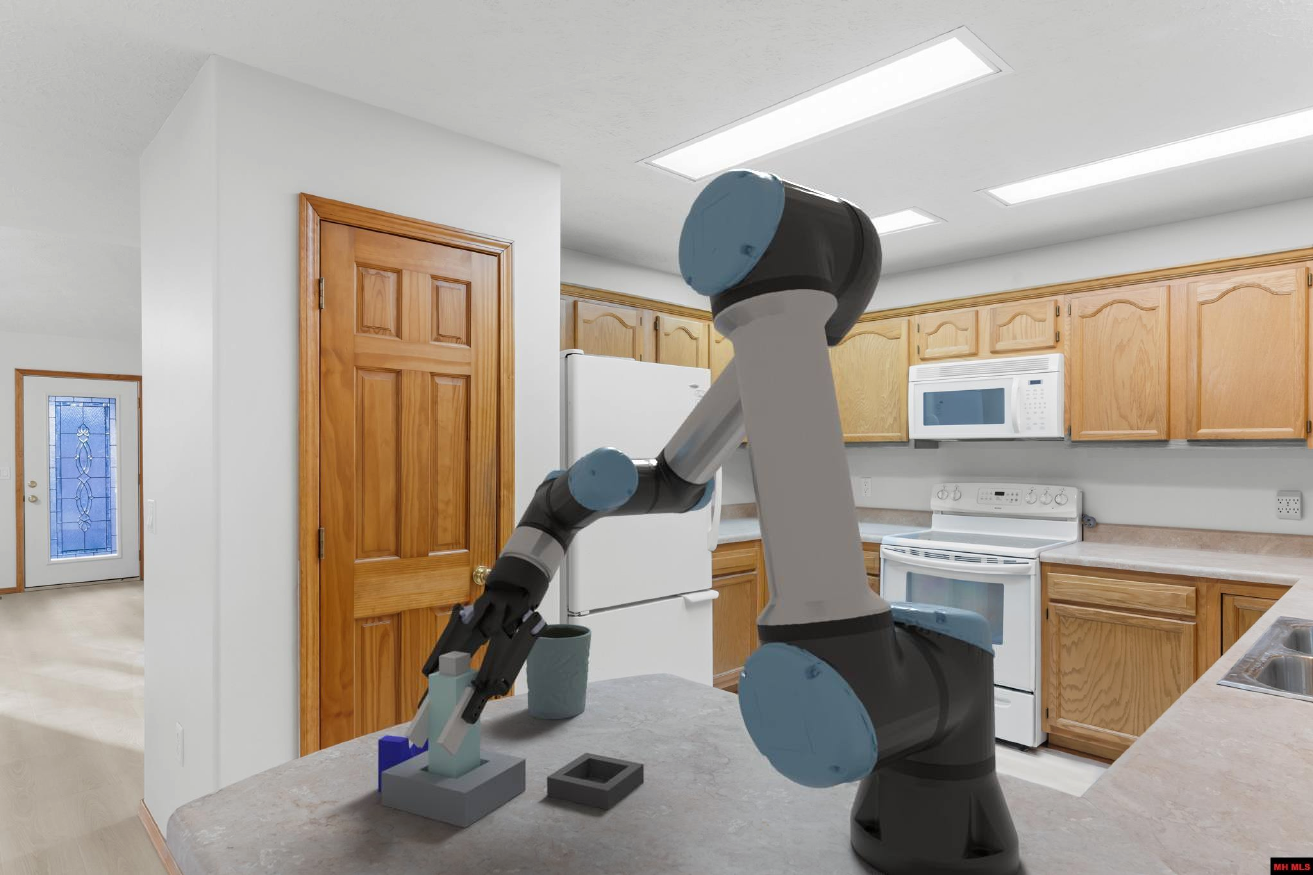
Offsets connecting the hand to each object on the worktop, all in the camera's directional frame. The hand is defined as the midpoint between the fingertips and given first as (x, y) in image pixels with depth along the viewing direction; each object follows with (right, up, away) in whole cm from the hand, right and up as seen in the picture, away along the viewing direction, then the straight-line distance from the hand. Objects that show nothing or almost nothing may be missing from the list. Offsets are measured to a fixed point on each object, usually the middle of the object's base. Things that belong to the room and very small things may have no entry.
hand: (429, 744), depth 81 cm
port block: (+2, -7, +3) cm, 8 cm away
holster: (+18, -7, +5) cm, 20 cm away
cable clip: (-5, -8, +10) cm, 14 cm away
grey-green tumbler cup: (+10, -8, +33) cm, 35 cm away
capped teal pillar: (+2, -4, +3) cm, 6 cm away
